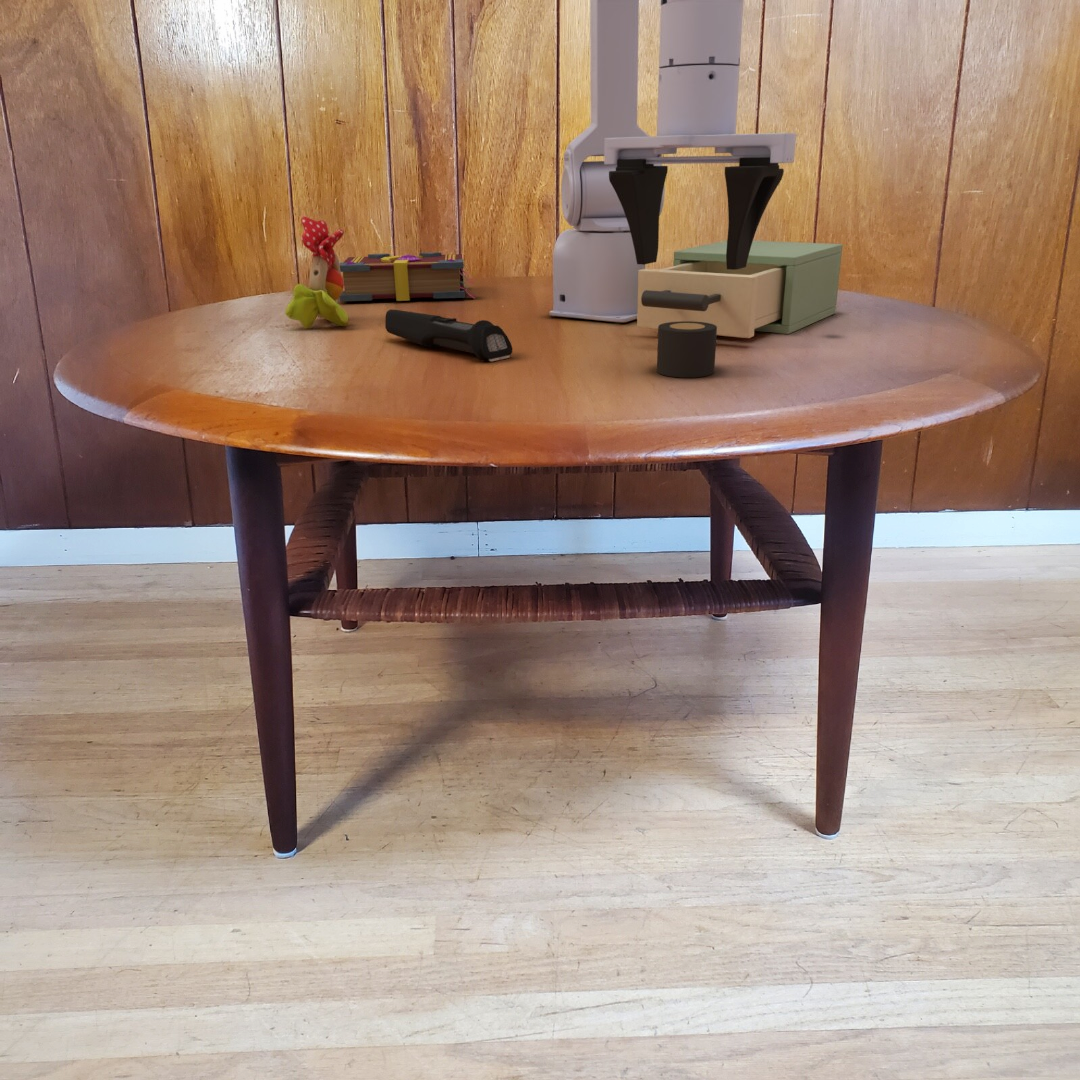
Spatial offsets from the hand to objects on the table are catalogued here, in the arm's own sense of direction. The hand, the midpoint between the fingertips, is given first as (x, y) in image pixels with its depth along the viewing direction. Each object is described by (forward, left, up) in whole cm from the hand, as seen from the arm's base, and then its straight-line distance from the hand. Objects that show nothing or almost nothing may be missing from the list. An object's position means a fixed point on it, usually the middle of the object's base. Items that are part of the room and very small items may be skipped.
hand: (690, 265), depth 71 cm
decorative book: (-49, +21, -8) cm, 54 cm away
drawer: (-5, +15, -7) cm, 18 cm away
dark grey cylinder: (0, 0, -8) cm, 8 cm away
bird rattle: (-43, +1, -8) cm, 44 cm away
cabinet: (-5, +26, -8) cm, 28 cm away
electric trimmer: (-23, -3, -8) cm, 25 cm away
